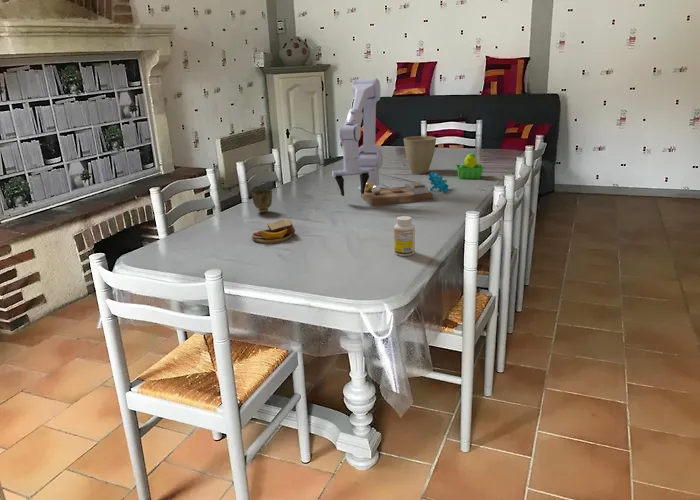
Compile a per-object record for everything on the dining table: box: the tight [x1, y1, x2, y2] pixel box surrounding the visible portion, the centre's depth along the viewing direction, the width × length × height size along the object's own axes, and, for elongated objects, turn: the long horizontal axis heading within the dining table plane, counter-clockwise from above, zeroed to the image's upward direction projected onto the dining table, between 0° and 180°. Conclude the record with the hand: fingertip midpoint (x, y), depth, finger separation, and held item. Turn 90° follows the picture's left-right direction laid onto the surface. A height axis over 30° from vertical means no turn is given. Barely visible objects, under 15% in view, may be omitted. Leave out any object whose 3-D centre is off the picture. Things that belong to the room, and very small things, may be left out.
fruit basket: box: [455, 152, 485, 180], centre depth 245 cm, size 11×9×11 cm
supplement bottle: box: [393, 215, 416, 257], centre depth 154 cm, size 6×6×10 cm
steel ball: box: [372, 185, 382, 194], centre depth 212 cm, size 4×4×4 cm
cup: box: [251, 188, 273, 214], centre depth 203 cm, size 8×7×8 cm
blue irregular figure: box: [427, 171, 449, 194], centre depth 224 cm, size 11×6×10 cm
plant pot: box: [403, 135, 437, 175], centre depth 260 cm, size 15×15×16 cm
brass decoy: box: [365, 181, 374, 192], centre depth 217 cm, size 4×4×4 cm
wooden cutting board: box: [360, 186, 434, 207], centre depth 215 cm, size 14×24×2 cm, turn 105°
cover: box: [404, 181, 429, 194], centre depth 214 cm, size 10×6×3 cm, turn 15°
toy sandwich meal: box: [251, 218, 296, 244], centre depth 174 cm, size 12×14×5 cm
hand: (352, 194), depth 211 cm, fingers open, 7 cm apart
